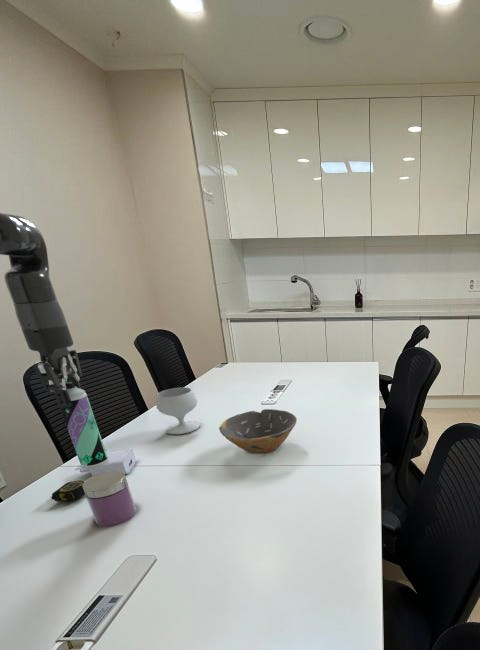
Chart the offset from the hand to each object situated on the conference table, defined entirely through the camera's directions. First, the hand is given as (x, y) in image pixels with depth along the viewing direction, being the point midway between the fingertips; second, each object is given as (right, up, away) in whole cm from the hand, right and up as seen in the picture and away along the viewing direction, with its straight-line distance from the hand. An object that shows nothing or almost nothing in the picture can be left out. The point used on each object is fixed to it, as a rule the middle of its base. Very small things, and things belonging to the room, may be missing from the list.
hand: (72, 402), depth 86 cm
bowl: (+30, -13, +46) cm, 57 cm away
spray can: (+1, -14, +6) cm, 16 cm away
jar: (+1, -28, +13) cm, 31 cm away
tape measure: (-17, -25, +21) cm, 37 cm away
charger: (-16, -19, +35) cm, 43 cm away
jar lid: (+1, -19, +9) cm, 21 cm away
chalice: (-7, -6, +64) cm, 65 cm away
